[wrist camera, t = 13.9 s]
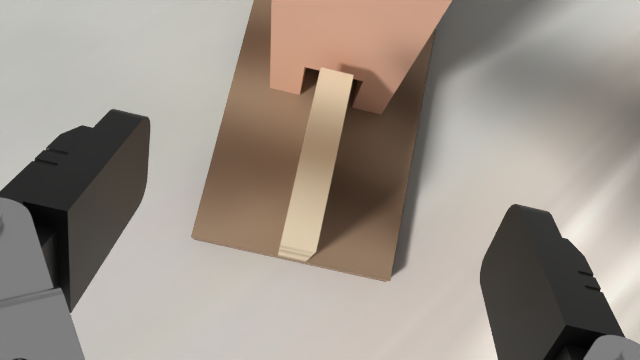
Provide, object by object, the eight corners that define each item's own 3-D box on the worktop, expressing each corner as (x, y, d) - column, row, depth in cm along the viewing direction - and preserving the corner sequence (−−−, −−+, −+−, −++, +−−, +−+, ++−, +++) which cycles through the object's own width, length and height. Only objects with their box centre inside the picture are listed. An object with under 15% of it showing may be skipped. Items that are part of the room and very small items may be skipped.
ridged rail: (385, 281, 29) (423, 276, 22) (194, 239, 28) (170, 219, 21) (445, -52, 33) (493, -146, 26) (281, -93, 33) (286, -200, 26)
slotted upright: (381, 114, 29) (457, -9, 18) (270, 87, 29) (272, -56, 17) (391, 63, 30) (471, -89, 18) (282, 36, 30) (294, -135, 18)
